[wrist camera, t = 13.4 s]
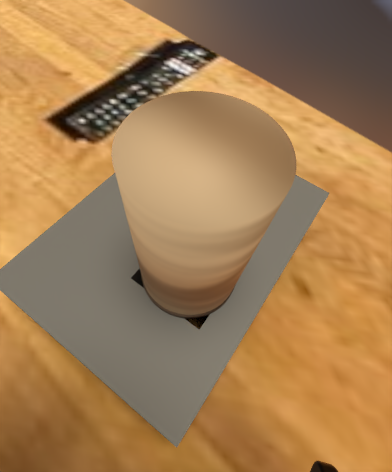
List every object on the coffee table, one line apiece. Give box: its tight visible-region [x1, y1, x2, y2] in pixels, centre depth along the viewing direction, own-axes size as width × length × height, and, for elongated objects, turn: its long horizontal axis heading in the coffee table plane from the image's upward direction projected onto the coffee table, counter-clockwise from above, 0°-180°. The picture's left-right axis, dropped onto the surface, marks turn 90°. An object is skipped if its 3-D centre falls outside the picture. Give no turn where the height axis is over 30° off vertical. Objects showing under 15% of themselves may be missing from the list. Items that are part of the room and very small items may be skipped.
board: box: [0, 173, 329, 447], centre depth 19 cm, size 18×13×4 cm
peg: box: [112, 91, 296, 319], centre depth 14 cm, size 6×6×12 cm
